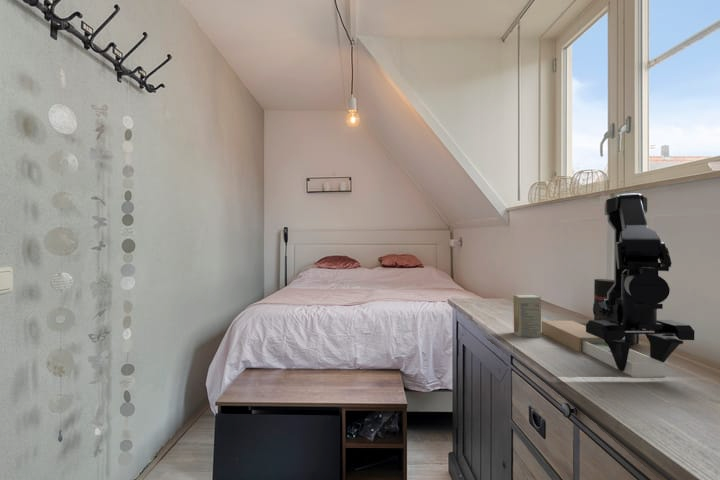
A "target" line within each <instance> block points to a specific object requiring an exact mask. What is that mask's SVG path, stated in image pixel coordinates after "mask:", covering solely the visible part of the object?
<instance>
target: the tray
mask: <svg viewBox="0 0 720 480" xmlns="http://www.w3.org/2000/svg"><path fill="white" fill-rule="evenodd" d="M593 344H604V345H606V346H608V344H607V343H606V342H605V341H604V339H581V352H582V353H585V354H587V355H588V356H590V357H593V358H594V359H597V360H598V361H601V362H603V363H604V364H607V365H609V366H611V367H612V368H614V369H616V370H618V371H621V370H619V369H618V367H617V365H616V363H615V360H614V358H613V355H612V353H610V352H608V351H606V350H604V349H601V348H599V347H597V346H595V345H593ZM608 347H609V346H608ZM621 372H622V373H624V374H626V375H629V376H628V377H629V378H630V379H657V378H658V379H664V378H665V377H666V375H665V373H666V362H664V363H663V362H661V361H658V360H656V359H654V358H651V357H650V355H649V356H648V355H646V354H644V353H641V352H638V351H636V350H634V349H632V348H629V353H628V358H627V363H626V366H625V369H624V371H621Z"/></svg>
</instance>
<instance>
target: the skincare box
mask: <svg viewBox="0 0 720 480" xmlns="http://www.w3.org/2000/svg"><path fill="white" fill-rule="evenodd" d="M512 297H513V333H514V334H515V335H516V336H518V338H519V337H520V338H542V302H541V301H542V299H541V296H538V295H536V294H513V296H512Z"/></svg>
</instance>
